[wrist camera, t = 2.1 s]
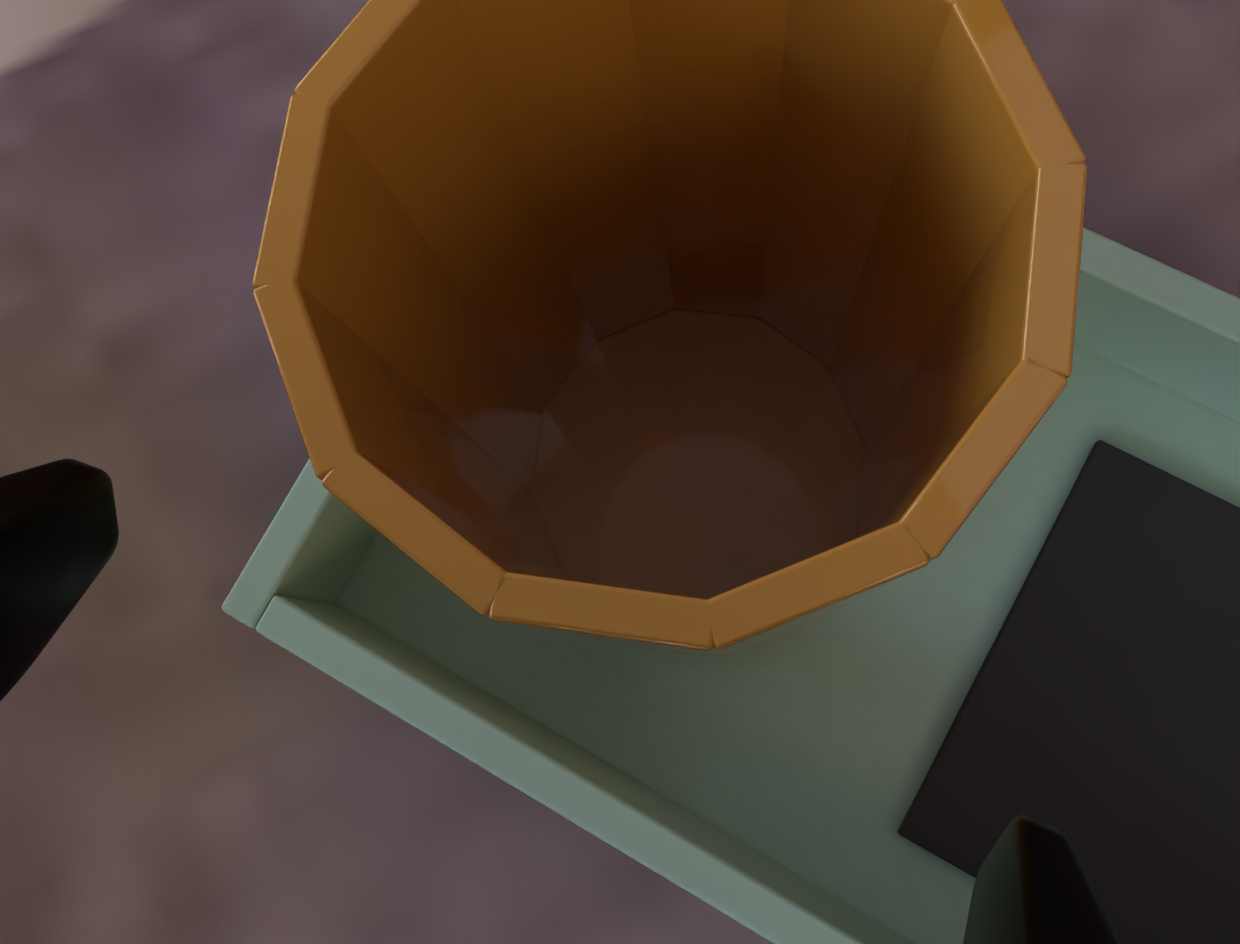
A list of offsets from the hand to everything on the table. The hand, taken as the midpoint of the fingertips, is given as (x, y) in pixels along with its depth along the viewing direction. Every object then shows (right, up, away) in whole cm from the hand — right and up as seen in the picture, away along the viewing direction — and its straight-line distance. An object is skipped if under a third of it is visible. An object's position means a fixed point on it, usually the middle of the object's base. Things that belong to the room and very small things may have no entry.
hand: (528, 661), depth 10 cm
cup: (+2, +2, +11) cm, 11 cm away
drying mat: (+11, -3, +9) cm, 15 cm away
